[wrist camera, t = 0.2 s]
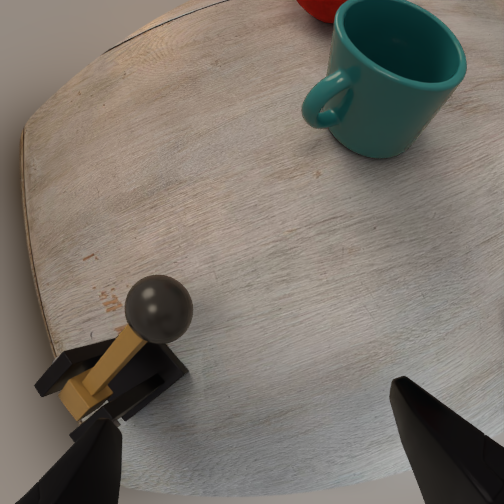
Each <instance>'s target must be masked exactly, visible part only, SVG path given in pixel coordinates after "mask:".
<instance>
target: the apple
mask: <svg viewBox="0 0 504 504" xmlns="http://www.w3.org/2000/svg"><path fill="white" fill-rule="evenodd" d="M346 1H347V0H297V2H298V3H299V4H300V5H301V6H302V7H303V8H304V9H305V10H306V11H307V12H308V13H309V14H311V15H312V16H313V17H315V18H316V19H318V20H321V21H323V22H325V23H334V19H335V14H336V12H337V10H338V8H339V7H340V6H341V5H342V4H343V3H344V2H346Z"/></svg>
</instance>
